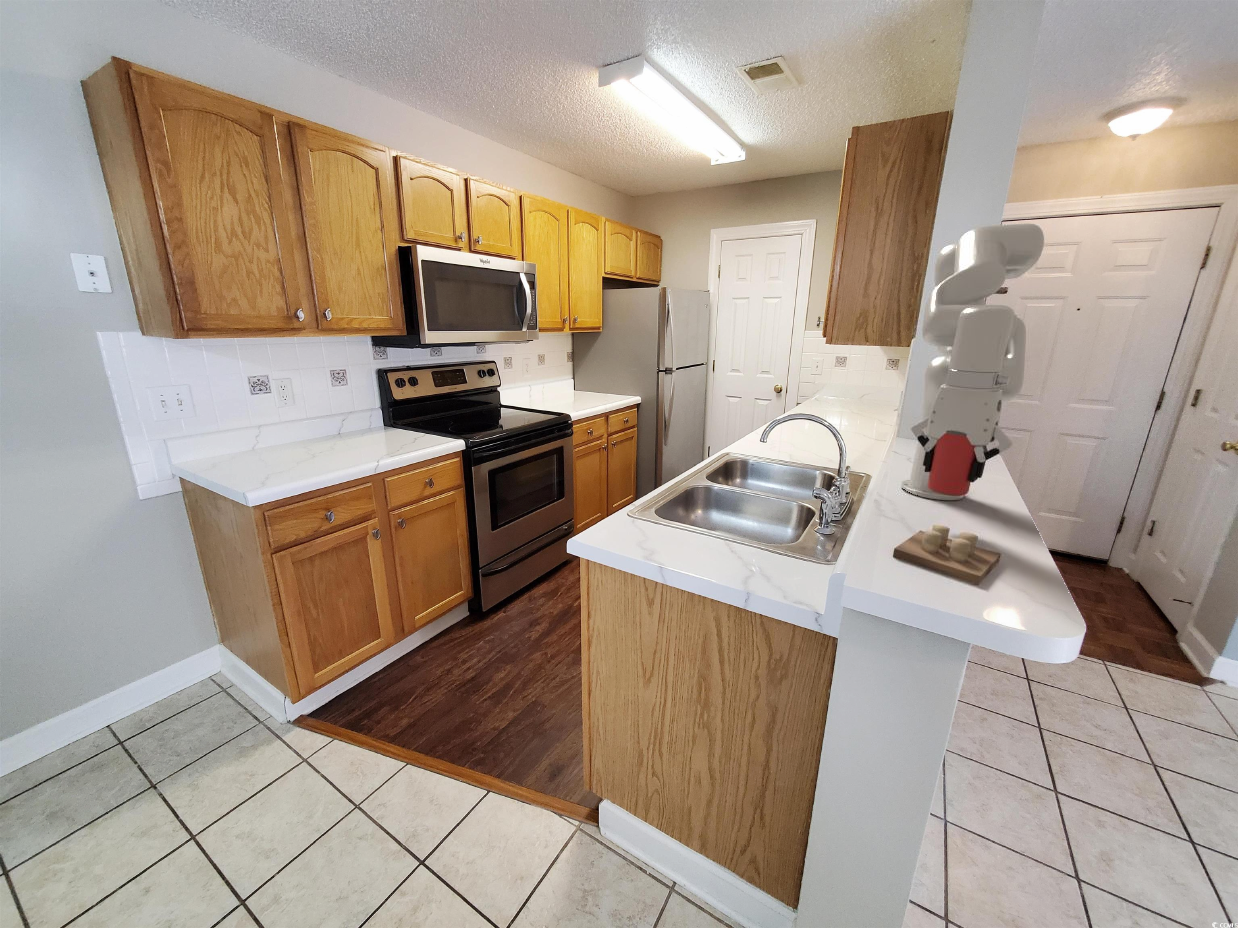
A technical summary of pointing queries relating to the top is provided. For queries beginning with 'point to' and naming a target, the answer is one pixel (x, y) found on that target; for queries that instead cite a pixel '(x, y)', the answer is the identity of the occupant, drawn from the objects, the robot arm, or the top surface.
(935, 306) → the robot arm
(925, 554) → the peg stand
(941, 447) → the beer can
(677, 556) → the top surface
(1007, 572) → the top surface
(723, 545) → the top surface
